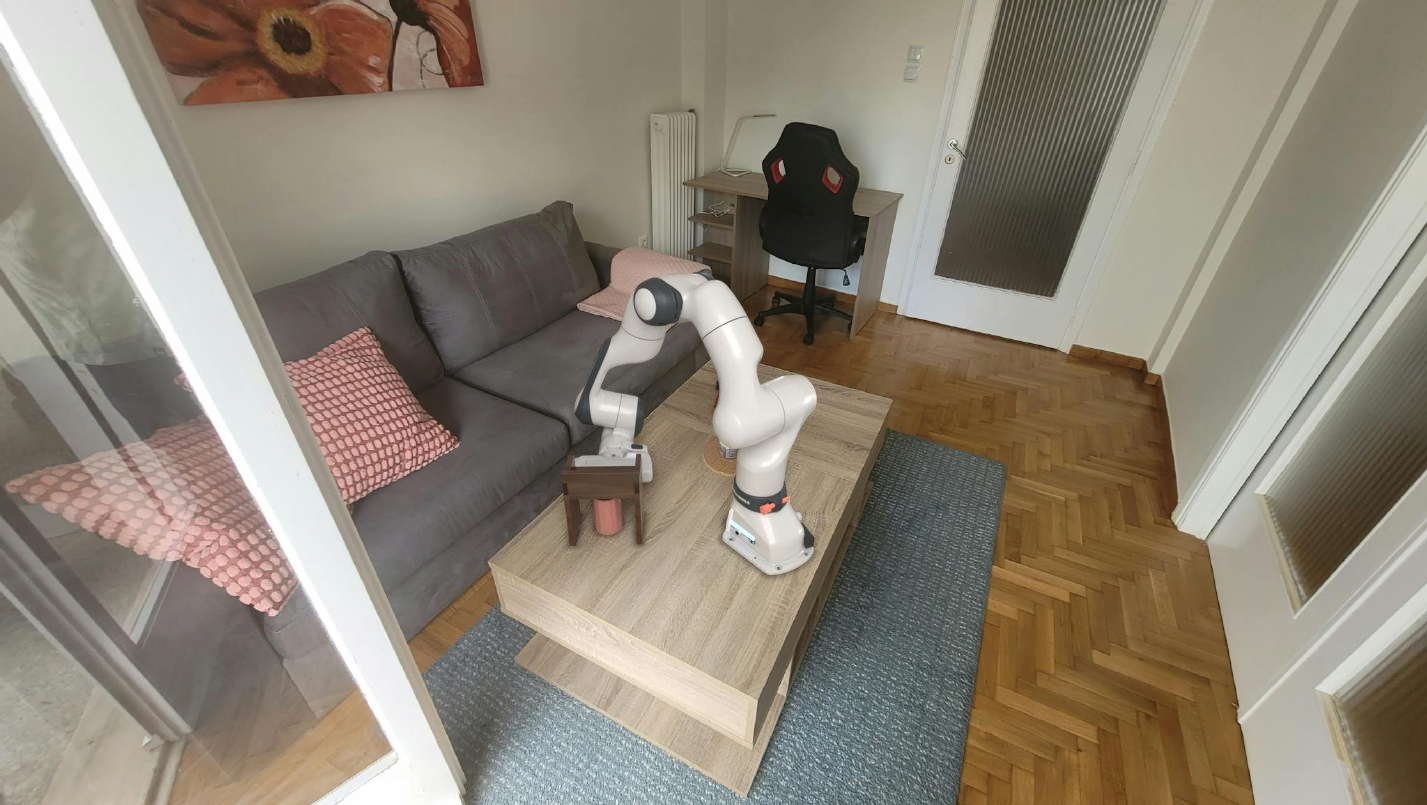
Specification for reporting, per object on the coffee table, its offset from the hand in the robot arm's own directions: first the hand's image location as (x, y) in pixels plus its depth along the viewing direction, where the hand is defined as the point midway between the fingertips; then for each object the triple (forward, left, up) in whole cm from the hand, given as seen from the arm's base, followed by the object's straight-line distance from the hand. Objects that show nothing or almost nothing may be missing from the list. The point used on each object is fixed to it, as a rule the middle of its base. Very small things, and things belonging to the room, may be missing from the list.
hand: (610, 490), depth 143 cm
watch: (+34, -57, -6) cm, 67 cm away
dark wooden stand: (-7, +4, -6) cm, 10 cm away
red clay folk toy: (+21, -48, -6) cm, 53 cm away
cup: (-6, +3, -6) cm, 8 cm away
